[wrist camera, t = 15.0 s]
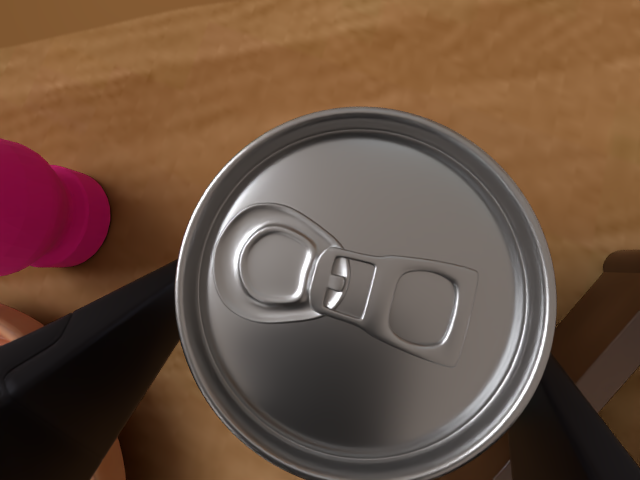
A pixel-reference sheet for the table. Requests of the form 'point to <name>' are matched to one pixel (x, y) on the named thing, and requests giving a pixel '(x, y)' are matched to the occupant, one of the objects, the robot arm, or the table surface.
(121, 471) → the saucer
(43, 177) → the pepper mill
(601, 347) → the rack
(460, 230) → the can
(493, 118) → the table surface
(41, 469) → the robot arm
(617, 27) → the table surface
